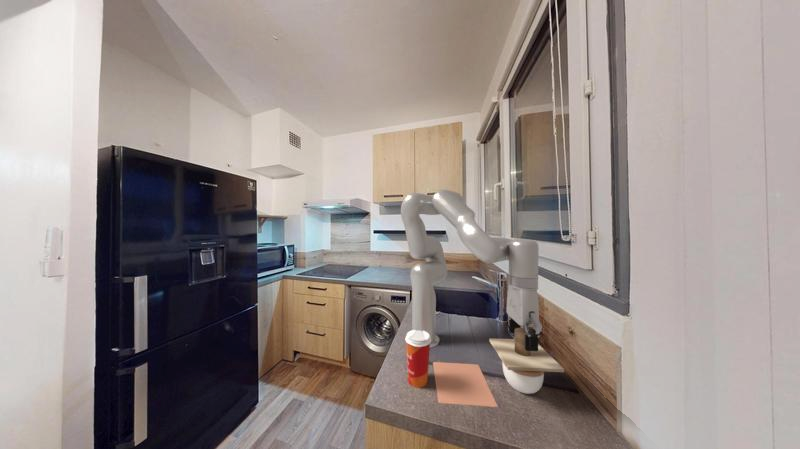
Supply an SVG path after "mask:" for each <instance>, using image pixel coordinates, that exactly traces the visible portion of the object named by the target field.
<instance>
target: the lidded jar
mask: <svg viewBox="0 0 800 449" xmlns="http://www.w3.org/2000/svg"><path fill="white" fill-rule="evenodd" d="M501 361H502V360H501ZM501 364H502V366H501V367H502V371H503V375H504V377H505V380H506V381H507V383H508V384H509V385H510V386H511V387H512V388H513V389H514V390H516V391H517V392H519V393H522V394H525V395H531V394H536V393H537V392H539V391H540V390H541V388H542V386H543V383H544V380H545V379H544V377H545V371H521V370H508V369H507V367H506V366H505V364H504V363H503V361H502V362H501Z"/></svg>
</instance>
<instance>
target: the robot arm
mask: <svg viewBox="0 0 800 449" xmlns="http://www.w3.org/2000/svg"><path fill="white" fill-rule="evenodd" d="M400 215H401V216H400V217H401V220H402V223H403V227H404V230H405V236H406V242H407V245H408V246H407V247H408V251H409V254H410V256H411V258H413V259H415V260H425V261H423V262H419V263H416V264H415V265H413V267H412V268H411V269H410V272H409V274H410V275H409V277H410V285H411V294H412V295H411V296H412V298H411V300H412V301H411V302H412V304H411V306H412V307H411V308H412V309H411V314H412V315H411V330H417V331H418V330H421V331H426V332H427V333H428V334H429V335H430V338H431V343H430V348H431V349H432V348H434V347H437V346H438V345H439V344H440V337H439V336H438V334H436V327H437V326H436V323H437V322H436V321H437V318H436V317H437V316H436V314H437V312H436V311H437V309H436V308H437V296H436V291H435V288H434V285H435V284H438V283H441V282H443V281H444V280H445V279H446V278H447V275H448V266H447V262H446V258H445V254H444V249H443V246H442V243H441V241H440V240H439V239H438V238H437V237H435V236H433V235H432V236H431V235H429V236H428V235H427V231H426V226H425V223H424V221H423V220H422V218H421V216H420V215H424V216H425V215H426V216H428V215H429V216H438V215H439V216H440V215H441V216H443V217H444V218H445V219H446V220H447V221H448V222H449V224H451V225H452V226H453V228H454V229H455V230H456V233H457V234H458V237H459V240H460V241H461V243H462V244H463V245H464V246H465V247H466V248H467V249H468V250H469V251H470V252H471V253H472V254H473V255H474V256H475V257H476V258H477V259H479V260H480V262H481V261H482V262H483V263H485V264H496V263H498V262H504V261H505V262H506V261H508V287H507V293H506V314H507V315H508V332H509V333H510V334H515V329H516V328H521V327H524V329H525V331H526V334H527V335H525V350H526V351H538V344H539V338H540V335H541V332H542V328H543V325H542V322H540V310H539V308H540V306H539V296H538V290H539V250H540V249H539V243H538V242H537V241H536V240H532V239H518V238H517V239H511V238H505V237H492V236H490V235H489V234H488V233H487V232H486V231H485V230H483V229H482V228H481V226H479V225H478V223H477V222H476V219H475V217H476V213H475V212H474V210H473V209H471V208H470V207H469V206H468V205H467V204H466V203H465V198H464V197H463V196H462V195H461V193H459V192H456V191H453V190H449V189H440V190H437V191H436V192H435V193H434V194H433V195H430V194H425V193H420V192H415V193H414V192H412V193H409V194H408V195H406V196H405V197H404V198H403V200H402V203H401V206H400ZM530 328H531V329H530Z"/></svg>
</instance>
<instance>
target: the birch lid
mask: <svg viewBox="0 0 800 449" xmlns="http://www.w3.org/2000/svg"><path fill="white" fill-rule="evenodd" d="M525 335H527V334H526V331H525V328H522V327H520V328H516V329H515V333H514V338H490V337H489V340H488V341H489V343H490V344H491V346H492V347H493V349H494V350H495V352H496V354H497V355H498V357H499V358H500V360H501V361H503V363H504V364H505V366H506V367H507V369H508V370H521V371H544V372H547V373H548V372H549V373H550V372H551V373H552V372H553V373H565V368H564V367H563V366H562V365H561V364H560V363H559V362H558V361H557V360H556V359H554V358H553V357H552V355H550V353H548V352H547V351H546V349H544V348H543V347H542V346H541V345H540V344H539V343H538V351H526V350H525Z"/></svg>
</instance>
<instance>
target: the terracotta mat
mask: <svg viewBox="0 0 800 449" xmlns="http://www.w3.org/2000/svg"><path fill="white" fill-rule="evenodd" d="M432 367H433V374H434V380H435V387H436V388H435V389H436V394H437V396H436V397H437V401H438V402H437V403H438V404H446V405H447V404H449V405H462V406H474V407H476V406H477V407H491V408H498V407H499V406H498V404H497V403H496V399H495V398H494V396H493V393H492V391H491V389H490V387H489V384H488V383H487V380H486V379H485V375H484V374H483V372H482V369H481V368H480V366H479V364H475V363H459V362H456V363H455V362H439V361H433V362H432Z"/></svg>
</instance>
